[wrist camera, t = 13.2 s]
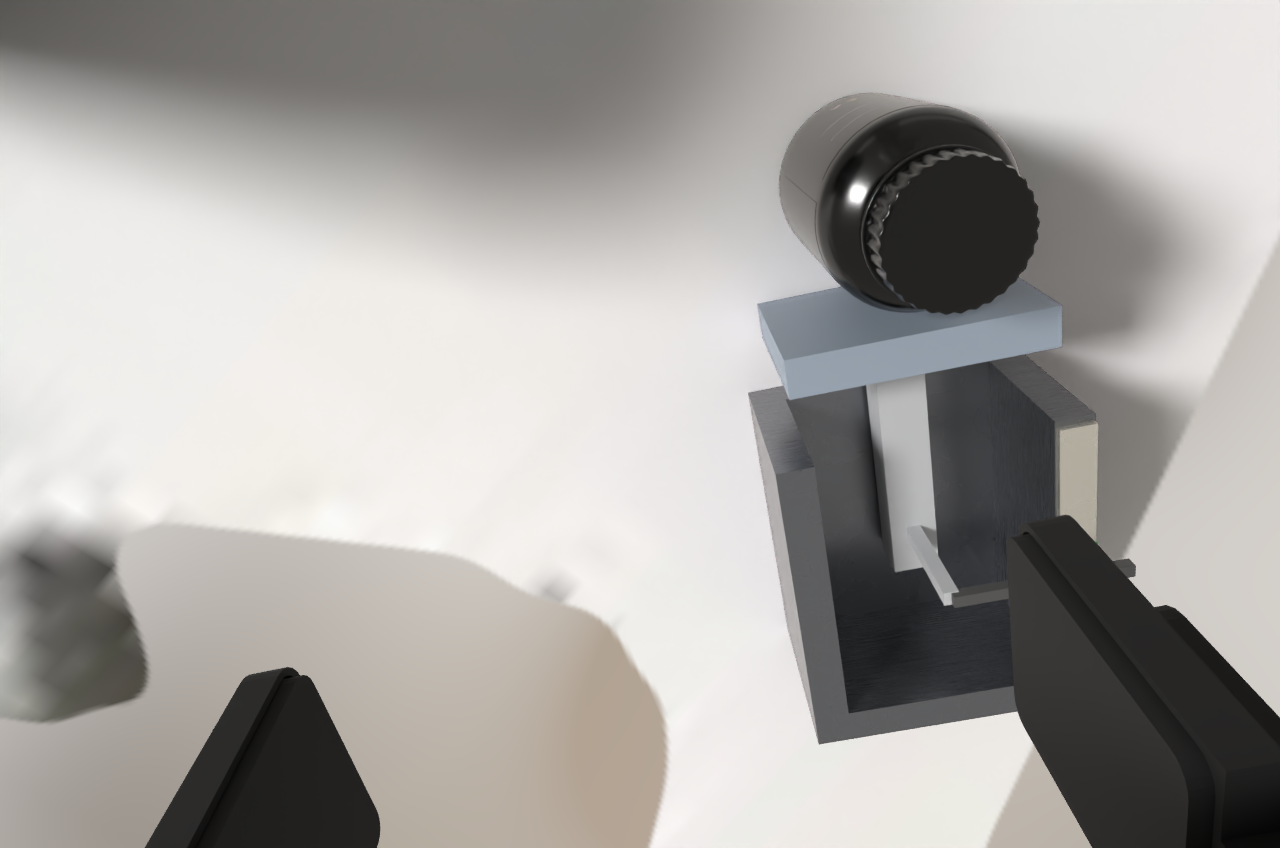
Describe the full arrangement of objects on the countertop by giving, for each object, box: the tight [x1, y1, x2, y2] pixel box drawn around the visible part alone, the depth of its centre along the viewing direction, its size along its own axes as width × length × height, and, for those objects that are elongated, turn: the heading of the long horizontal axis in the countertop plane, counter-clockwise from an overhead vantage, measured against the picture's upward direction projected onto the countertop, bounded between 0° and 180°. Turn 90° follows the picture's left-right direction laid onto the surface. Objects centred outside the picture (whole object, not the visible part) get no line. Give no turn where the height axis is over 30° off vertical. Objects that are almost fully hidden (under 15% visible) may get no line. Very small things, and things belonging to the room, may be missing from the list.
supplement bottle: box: [779, 93, 1040, 315], centre depth 31 cm, size 7×7×12 cm
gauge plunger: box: [757, 277, 1136, 608], centre depth 36 cm, size 13×12×9 cm
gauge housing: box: [748, 354, 1098, 744], centre depth 39 cm, size 14×12×8 cm
